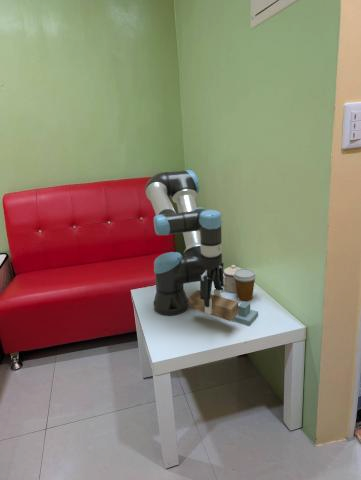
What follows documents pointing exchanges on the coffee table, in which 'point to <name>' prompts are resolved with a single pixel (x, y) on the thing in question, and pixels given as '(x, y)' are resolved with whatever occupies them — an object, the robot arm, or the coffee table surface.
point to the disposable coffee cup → (244, 283)
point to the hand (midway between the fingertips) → (213, 308)
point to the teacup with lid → (230, 279)
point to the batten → (215, 306)
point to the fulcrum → (245, 314)
